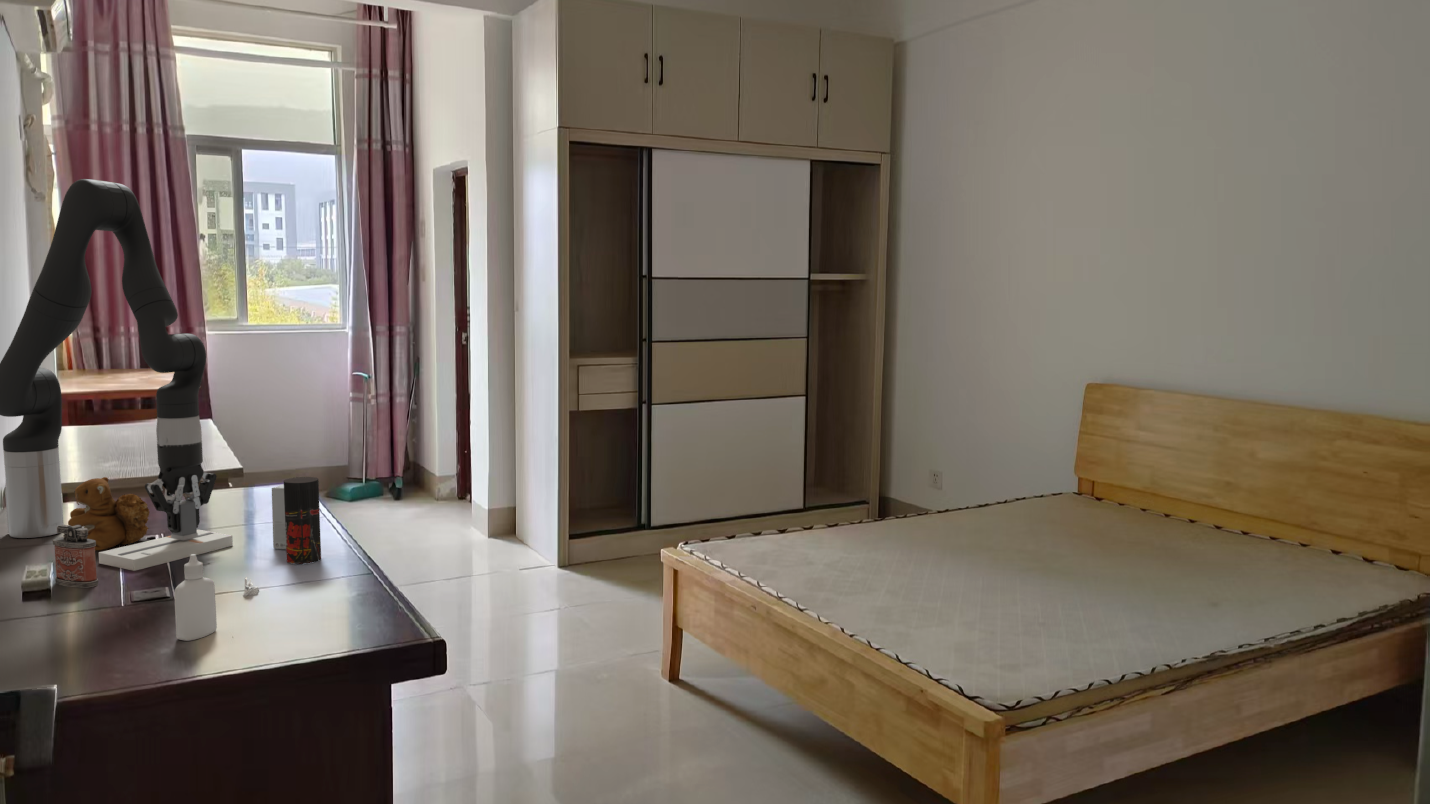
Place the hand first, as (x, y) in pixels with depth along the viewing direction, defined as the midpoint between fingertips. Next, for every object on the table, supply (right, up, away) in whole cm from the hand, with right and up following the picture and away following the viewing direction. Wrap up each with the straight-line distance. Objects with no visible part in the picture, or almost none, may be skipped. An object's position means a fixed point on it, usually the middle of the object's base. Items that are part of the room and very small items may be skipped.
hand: (184, 529), depth 196 cm
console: (-2, -4, -3) cm, 5 cm away
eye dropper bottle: (+26, -10, -46) cm, 53 cm away
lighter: (-7, -7, -21) cm, 23 cm away
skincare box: (+19, -4, +4) cm, 20 cm away
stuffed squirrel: (-16, -4, +4) cm, 17 cm away
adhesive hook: (+26, -8, -26) cm, 37 cm away
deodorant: (+25, -5, -5) cm, 26 cm away
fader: (0, -2, 0) cm, 2 cm away
